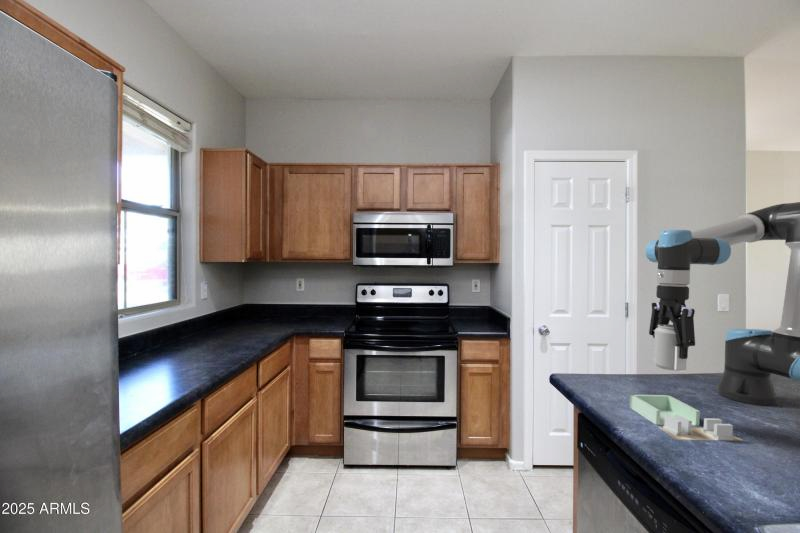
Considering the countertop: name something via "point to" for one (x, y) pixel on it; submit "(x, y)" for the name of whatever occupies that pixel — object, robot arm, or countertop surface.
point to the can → (665, 346)
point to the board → (696, 435)
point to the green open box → (662, 408)
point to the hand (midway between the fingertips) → (669, 365)
